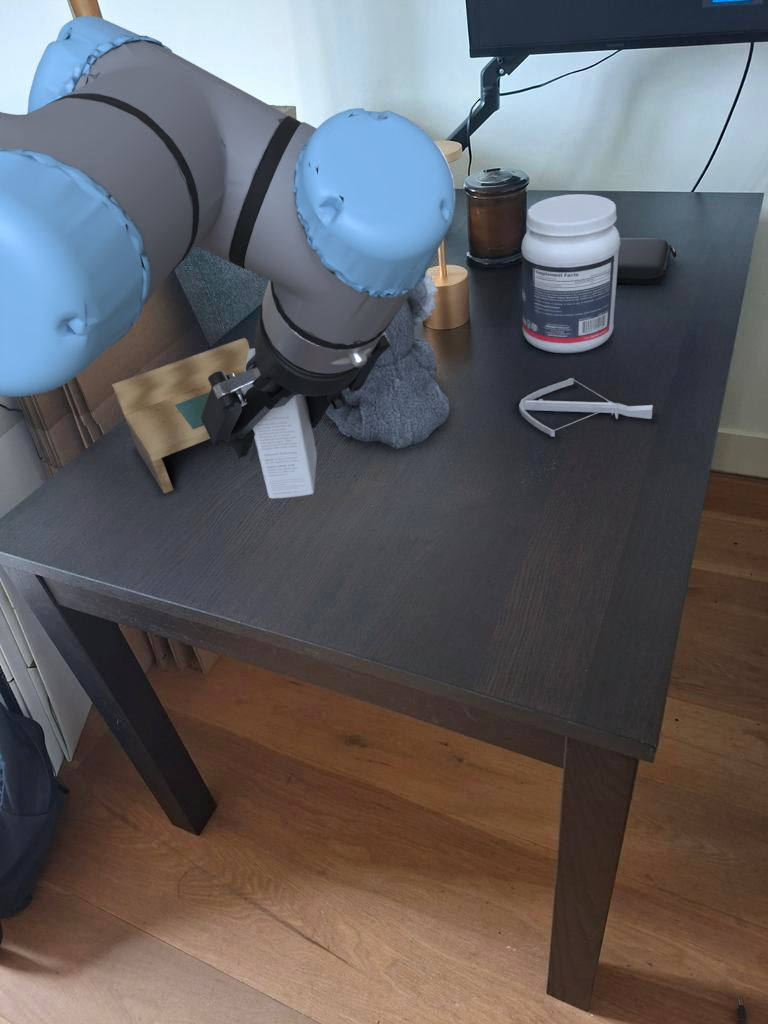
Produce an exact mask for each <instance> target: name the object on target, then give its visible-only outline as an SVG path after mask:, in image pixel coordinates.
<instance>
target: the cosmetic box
mask: <svg viewBox="0 0 768 1024" xmlns="http://www.w3.org/2000/svg"><path fill="white" fill-rule="evenodd" d="M254 355H255V347H254V348H250V349H249V351H248V356H247V361H246V364H247V362H248V361H249V360H250V359H251V358H252V357H253V356H254ZM244 372H246V366H245V371H244ZM252 429H253V431H254V433H255V436H254V438H253V440H254V442H255V446H256V451H257V455H258V459H259V464H260V467H261V471H262V476H263V481H264V484H265V488H266V492H267V497H268V498H269V499H286V498H297V497H304V496H309V495H313V494H314V493H315V486H316V485H315V484H316V472H317V459H318V454H317V453H318V452H317V448H316V444H315V443H316V442H315V437H314V432H313V429H312V426H311V421H310V416H309V410H308V405H307V400H306V395H301V394H299V395H295V396H293V397H292V398H291V399H290V400H289V401H288V402H287V403H286V404H285V405H284V406H281V407H277V408H274V409H271V410H270V411H269V412H268V413H267V414H266V415H265V416H264V417H263V418H262V419H261V420H260V421H259V422H258V423H257V424H256V425H255V426H254V427H253V428H252Z"/></svg>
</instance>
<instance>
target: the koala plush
mask: <svg viewBox="0 0 768 1024" xmlns="http://www.w3.org/2000/svg"><path fill="white" fill-rule="evenodd" d="M425 276H426V277H425V278H424V279H423V281H422V282H421V283H420V284H419V285H418V286H416V287H415V289H414V290H413V291H412V293H411V294H410V296H409V297H408V299H407V300H406V301H405V303H404V304H403V306H402V307H401V309H400V310H399V311H398V313H397V314H396V316H395V317H394V319H393V320H392V322H391V323H390V325H389V326H388V327H387V329H386V330H385V331H384V332H385V334H386V336H387V338H388V340H389V342H390V344H391V346H390V347H389V348H388V349H387V350H386V351H385V352H383V353H382V354H381V355H380V356H379V357H378V359H377V361H376V363H375V365H374V367H373V368H372V370H371V372H370V374H369V376H368V377H367V379H366V381H365V383H364V385H363V386H362V387H361V388H360V389H359V390H358V391H353V392H350V390H349V388H347V389H345V390H343V391H342V394H343V396H344V399H345V401H346V403H347V404H346V405H344V406H343V407H341V408H339V409H334V408H333V406H332V404H331V405H330V406H329V407H328V409H327V410H326V412H325V413H324V414H325V415H326V416H327V417H328V418H329V419H330V421H332V422H333V423H334V424H335V426H336V427H337V429H338V430H339V432H340V433H341V434H342V435H345V436H346V437H348V438H350V437H352V438H353V439H355V440H357V441H361V442H376V441H377V442H380V443H382V444H386V445H388V446H390V447H391V448H393V449H394V448H395V449H396V450H398V449H404V448H407V446H411V445H412V446H413V445H417V444H418V443H419V444H420V443H422V442H424V441H426V440H427V439H428V438H429V437H430V435H432V433H434V431H435V430H437V428H438V427H440V426H442V425H443V424H445V423H446V422H447V419H448V418H449V414H450V408H451V407H450V402H449V398H448V396H447V395H445V393H444V392H443V391H442V389H441V387H440V385H439V384H438V383H437V381H436V379H437V371H438V367H437V366H438V365H437V357H436V353H435V350H434V349H433V347H432V345H431V344H430V343H429V342H427V341H426V339H425V338H422V336H421V337H415V326H417V327H418V326H419V325H420V324H423V322H425V321H426V320H427V319H428V318H430V316H432V313H433V310H434V309H435V308H436V305H435V303H436V302H437V300H436V297H435V296H434V295H436V293H437V292H438V291H439V289H438V287H436V284H435V281H432V280H433V277H432V276H433V275H432V274H429V275H428V270H427V271H426V273H425Z"/></svg>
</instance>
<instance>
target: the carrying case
mask: <svg viewBox="0 0 768 1024" xmlns="http://www.w3.org/2000/svg"><path fill="white" fill-rule="evenodd" d="M671 254H672V257H673V258H676V257H677V250H676V249H675V247H674V245H673V246H672V244H670V243H668V241H667V240H666V239H664V238H657V237H656V238H654V237H653V238H652V237H622V238H621V237H620V246H619V260H618V273H617V285H618V284H619V285H644V286H645V285H648V286H652V285H656V284H659V282H660V281H662V280H663V279H665V278H666V274H667V269H668V264H669V260H670V257H671Z"/></svg>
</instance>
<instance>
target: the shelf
mask: <svg viewBox="0 0 768 1024" xmlns="http://www.w3.org/2000/svg"><path fill="white" fill-rule="evenodd" d="M249 349H251V348H250V344H249V340H248V339H247V338H246V337H243V338H240V339H237V340H234V341H231V342H228V343H225V344H222V345H220V346H217V347H214V348H212V349H208V350H205V351H203V352H200V353H197V354H194V355H192V356H189V357H186V358H183V359H180V360H178V361H175V362H172V363H169V364H165V365H163V366H161V367H157V368H155V369H152V370H149V371H146V372H144V373H143V372H142V373H141V374H137V375H135V376H132V377H128V378H126V379H123V380H121V381H117V382H115V383H112V384H111V386H112V389H113V391H114V394H115V396H116V400H117V401H118V404H119V407H120V409H121V412H122V414H123V417H124V419H125V422H126V424H127V427H128V430H129V432H130V434H131V438H132V440H133V442H134V444H135V448H136V450H137V452H138V454H139V455H140V457H141V458H142V460H143V462H144V463H145V465H146V466H147V468H148V470H149V471H150V473H151V474H152V476H153V478H154V479H155V481H156V482H157V484H158V486H159V487H160V489H161V490H162V493H163V494H164V495H165V494H167V493H169V492H172V491H174V487H173V484H172V482H171V479H170V475H169V474H168V471H167V468H166V466H165V463H164V461H163V458H165V457H167V456H170V455H173V454H175V453H178V452H180V451H182V450H185V449H188V448H190V447H192V446H195V445H198V444H200V443H202V442H206V441H209V440H211V439H210V437H209V435H208V432H207V430H206V428H205V426H204V424H203V422H202V420H201V416H202V413H203V410H204V407H205V405H206V402H207V399H208V396H209V394H210V391H211V388H212V386H211V384H210V382H209V380H208V377H209V376H210V375H212V374H213V373H215V372H218V371H223V372H224V373H225V374H226V375H227V374H228V373H233V374H234V376H237V375H239V374H241V373H243V372H244V371H245V366H246V361H247V356H248V351H249Z"/></svg>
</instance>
